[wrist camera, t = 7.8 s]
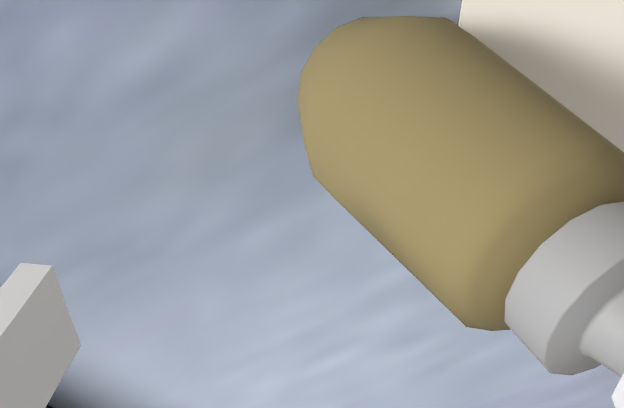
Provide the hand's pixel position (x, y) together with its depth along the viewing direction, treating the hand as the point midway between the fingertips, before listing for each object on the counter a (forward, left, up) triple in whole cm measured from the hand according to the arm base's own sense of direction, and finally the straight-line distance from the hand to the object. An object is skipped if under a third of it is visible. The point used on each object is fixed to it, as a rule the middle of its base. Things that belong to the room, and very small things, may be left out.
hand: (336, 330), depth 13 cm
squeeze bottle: (0, 0, -14) cm, 14 cm away
